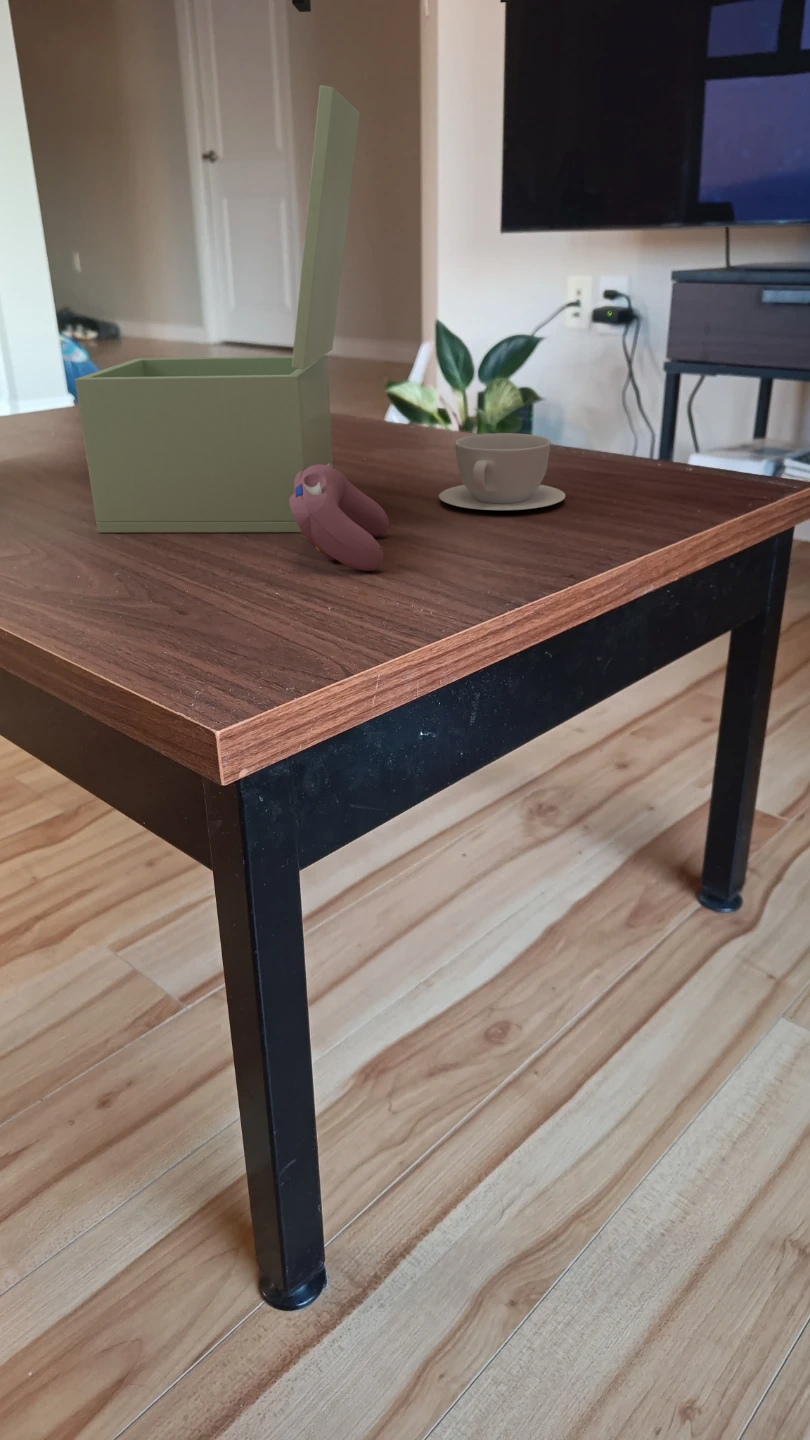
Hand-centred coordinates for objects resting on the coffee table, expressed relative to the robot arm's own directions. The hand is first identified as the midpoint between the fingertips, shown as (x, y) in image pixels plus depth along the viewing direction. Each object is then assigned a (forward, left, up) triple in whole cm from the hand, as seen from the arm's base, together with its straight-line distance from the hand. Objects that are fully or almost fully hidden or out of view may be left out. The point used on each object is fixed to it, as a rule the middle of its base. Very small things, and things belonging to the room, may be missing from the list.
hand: (403, 3), depth 66 cm
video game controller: (+1, -13, -33) cm, 35 cm away
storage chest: (-14, -6, -33) cm, 36 cm away
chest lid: (-6, -2, -13) cm, 15 cm away
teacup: (+5, +5, -33) cm, 34 cm away
